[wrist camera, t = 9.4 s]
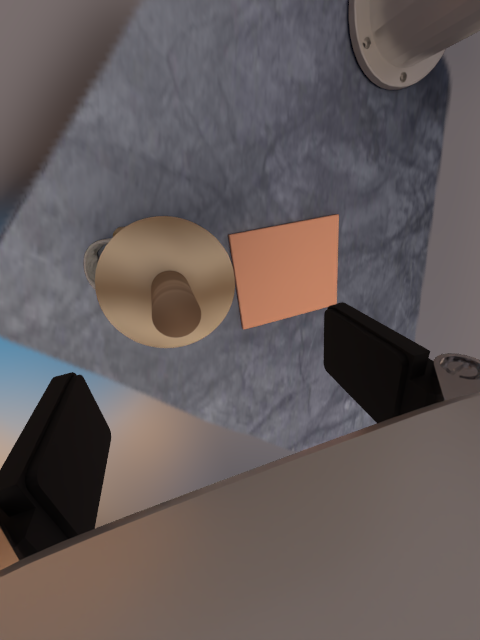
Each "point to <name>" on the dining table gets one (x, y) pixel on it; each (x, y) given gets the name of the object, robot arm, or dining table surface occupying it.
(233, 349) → the dining table surface
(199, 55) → the dining table surface
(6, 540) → the robot arm
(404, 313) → the dining table surface
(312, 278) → the mat
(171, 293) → the lid
